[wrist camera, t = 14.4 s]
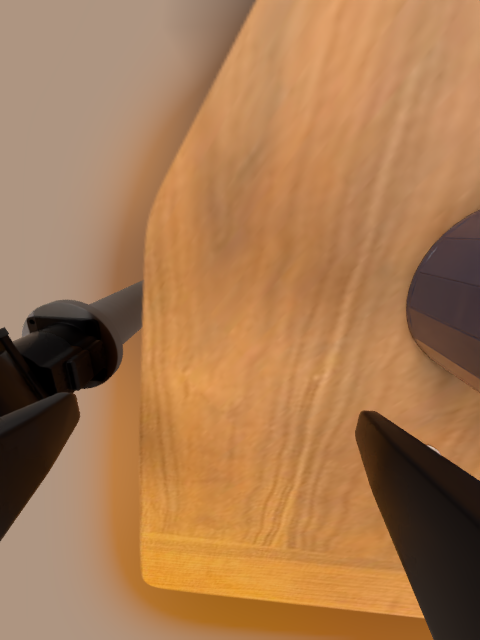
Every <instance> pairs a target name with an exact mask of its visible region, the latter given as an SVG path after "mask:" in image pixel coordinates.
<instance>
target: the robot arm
mask: <svg viewBox="0 0 480 640" xmlns="http://www.w3.org/2000/svg"><path fill="white" fill-rule="evenodd" d="M33 321H34V322H35V323H34V322H33ZM91 323H93V325H94V326H92V325H91ZM27 325H28V329H29V332H30V334H28V335H26V336H24V337H22V338H20V339H18V340H15V341H13V342H12V341H11V339H10V338H9V336H8V334H9V333H8V331H7V330H6V329H5V327H4V328H1V329H0V541H1V539H2V538H3V537H4V535H5V534H6V533H7V531H8V530H9V528H10V527H11V525H12V524H13V523H14V521H15V520H16V518H17V517H18V515H19V514H20V513H21V511H22V510H23V508H24V507H25V505H26V504H27V503H28V501H29V500H30V498H31V497H32V495H33V494H34V493H35V491H36V490H37V488H38V487H39V485H40V484H41V483H42V481H43V480H44V478H45V477H46V475H47V474H48V472H49V471H50V469H51V468H52V466H53V464H54V462H55V461H56V459H57V458H58V456H59V454H60V452H61V451H62V449H63V447H64V446H65V444H66V442H67V440H68V439H69V437H70V435H71V434H72V432H73V430H74V428H75V427H76V425H77V423H78V421H79V418H80V412H79V407H78V402H77V398H76V395H75V394H73V392H74V391H76V390H77V391H79V390H80V389H81V388H82V387H83V386H84V385H86V384H87V383H88V382H89V381H104V380H105V379H106V378H107V371H106V359H105V353H104V347H103V342H102V340H101V334H100V327H99V323H98V321H97V320H95V319H89V318H70V317H51V316H31V317H28V318H27ZM100 375H101V376H102V377H101V376H100ZM355 437H356V441H357V445H358V448H359V451H360V454H361V458H362V461H363V464H364V467H365V471H366V474H367V477H368V480H369V483H370V486H371V489H372V492H373V495H374V497H375V500H376V502H377V505H378V507H379V510H380V512H381V514H382V517H383V519H384V522H385V524H386V526H387V529H388V531H389V534H390V536H391V538H392V541H393V543H394V546H395V548H396V550H397V553H398V555H399V558H400V560H401V562H402V565H403V567H404V570H405V572H406V574H407V577H408V579H409V582H410V584H411V586H412V589H413V591H414V594H415V596H416V598H417V601H418V603H419V606H420V608H421V610H422V613H423V615H424V618H425V620H426V622H427V625H428V627H429V630H430V632H431V634H432V637H433V639H434V640H480V481H479V480H477V479H476V478H474V477H473V476H471V475H470V474H469V473H467V472H466V471H464V470H463V469H461V468H460V467H458V466H457V465H455V464H454V463H452V462H451V461H449V460H448V459H446V458H445V457H443V456H442V455H440V454H439V453H437V452H436V451H434V450H433V449H431V448H430V447H428V446H427V445H425V444H424V443H422V442H421V441H419V440H418V439H416V438H415V437H413V436H412V435H410V434H409V433H407V432H406V431H404V430H403V429H401V428H400V427H398V426H397V425H395V424H394V423H392V422H391V421H389V420H388V419H386V418H385V417H383V416H382V415H380V414H379V413H377V412H375V411H362V412H361V413H360V415H359V419H358V423H357V427H356V431H355Z"/></svg>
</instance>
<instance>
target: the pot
mask: <svg viewBox="0 0 480 640" xmlns="http://www.w3.org/2000/svg"><path fill="white" fill-rule="evenodd" d="M406 312H407V321H408V325H409V329H410V332H411V334H412V336H413V338H414V340H415V341H416V343H417V345H418V346H419V347H420V348H421V349H422V350H423V351H424V352H425V353H426V354H427V355H428V356H429V358H431V359H432V360H433V361H435V362H436V363H438V364H439V365H440V366H442V367H443V368H445V369H446V370H448V371H449V372H450V373H452V374H453V375H455V376H456V377H458V378H459V379H460V380H462V381H463V382H465V383H466V384H468V385H469V386H470V387H472V388H473V389H475V390H476V391H478V392H479V393H480V210H478V211H476V212H474V213H472V214H471V215H469V216H467V217H466V218H464V219H463V220H461V221H460V222H458V223H457V224H455V225H454V226H453V227H452V228H450V229H449V230H448V231H447V232H446V233H445V234H443V236H442V237H441V238H440V239H439V240H438V241H437V242H436V243H435V244H434V245H433V246H432V247H431V249H430V250H429V251H428V253H427V254H426V255H425V257H424V258H423V260H422V261H421V263H420V265H419V266H418V268H417V270H416V272H415V274H414V277H413V279H412V282H411V285H410V288H409V292H408V297H407V307H406Z"/></svg>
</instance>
